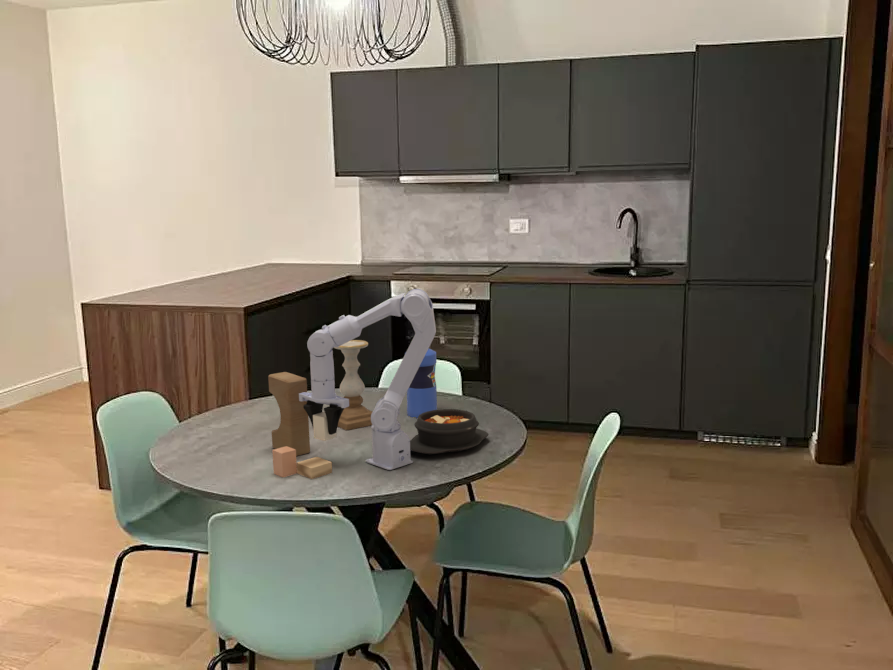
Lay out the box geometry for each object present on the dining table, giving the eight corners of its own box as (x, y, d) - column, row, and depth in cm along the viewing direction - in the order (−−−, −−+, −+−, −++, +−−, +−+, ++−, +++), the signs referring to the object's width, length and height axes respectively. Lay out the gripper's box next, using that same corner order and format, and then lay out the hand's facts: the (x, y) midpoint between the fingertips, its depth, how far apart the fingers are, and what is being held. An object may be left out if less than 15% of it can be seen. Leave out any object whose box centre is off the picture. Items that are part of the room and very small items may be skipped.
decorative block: (271, 447, 215) (267, 374, 212) (290, 443, 219) (286, 371, 215) (291, 457, 207) (287, 381, 203) (311, 453, 210) (307, 378, 207)
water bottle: (439, 410, 249) (438, 330, 245) (435, 418, 240) (433, 335, 236) (409, 409, 250) (407, 330, 246) (404, 417, 241) (401, 335, 237)
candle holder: (346, 430, 230) (342, 348, 225) (328, 422, 238) (324, 342, 234) (379, 423, 236) (376, 343, 232) (360, 415, 245) (357, 338, 240)
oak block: (332, 473, 195) (331, 462, 195) (311, 480, 191) (311, 468, 191) (317, 468, 200) (317, 456, 199) (297, 474, 195) (296, 462, 195)
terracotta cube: (297, 473, 195) (295, 449, 194) (282, 477, 193) (281, 453, 192) (287, 469, 198) (286, 446, 197) (273, 473, 195) (272, 449, 194)
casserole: (438, 466, 199) (438, 433, 197) (388, 450, 211) (387, 419, 210) (504, 442, 216) (504, 412, 215) (454, 429, 229) (453, 400, 228)
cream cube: (336, 437, 202) (335, 413, 201) (325, 441, 199) (323, 417, 198) (325, 434, 204) (324, 411, 203) (313, 438, 201) (312, 415, 200)
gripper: (356, 378, 198) (358, 432, 201) (311, 372, 206) (313, 424, 208) (337, 384, 193) (340, 439, 195) (292, 378, 200) (294, 431, 203)
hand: (325, 432), depth 201 cm, fingers closed on cream cube, 4 cm apart
